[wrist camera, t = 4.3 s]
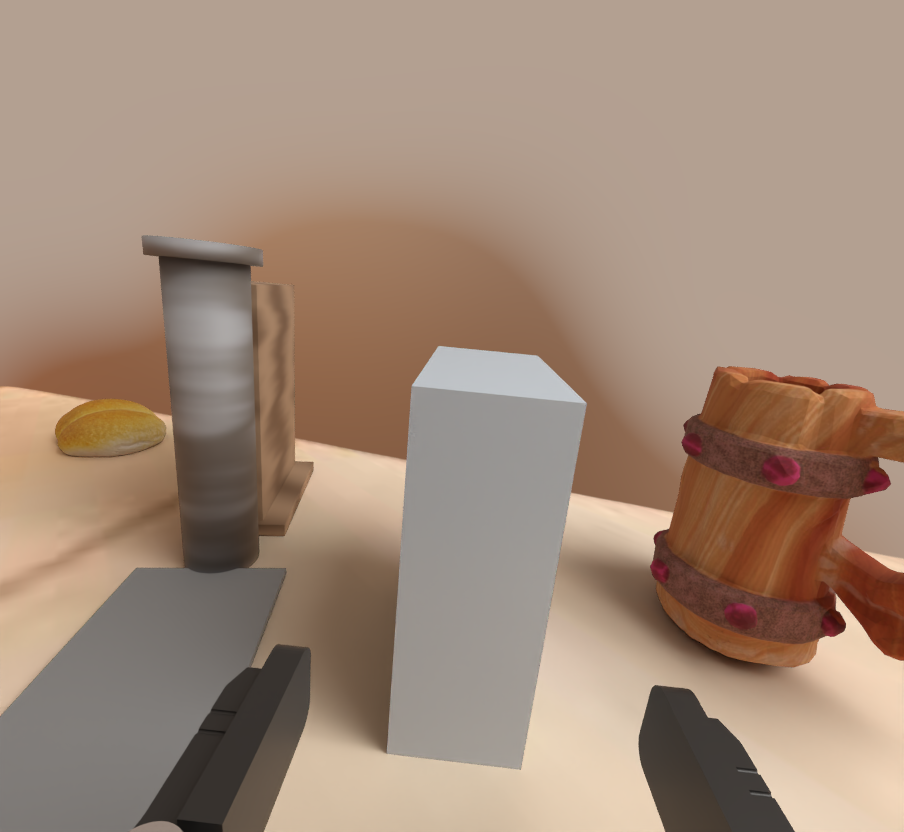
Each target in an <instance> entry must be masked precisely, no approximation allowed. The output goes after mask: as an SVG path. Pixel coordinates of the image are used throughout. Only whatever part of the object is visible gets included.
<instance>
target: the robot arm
mask: <svg viewBox="0 0 904 832" xmlns="http://www.w3.org/2000/svg"><path fill="white" fill-rule="evenodd" d="M310 660H311V653H310V649H309V648H306V647H298V646H289V645H280V644H278V645H276V646H275V647H274V648H273V650H272V652H271V653H270V655H269V657H268V659H267V660H266V662H265V664H264V666H263V667H262V669H259V668H250V667H247V668H246V669H245V670H243V671H242V672H241V673H240V674H239V675H238V676H236V677H235V678H234V679H233V680H232V681H231V682H229V683H228V684H227V685H226V686H225V688H224V689H223V691H222V692H221V694H220V696H219V697H218V699H217V700H216V702H215V704H214V705H213V707H212V708H211V712H210V714H208V715H207V716H206V718H205V719H204V721H203V722H202V724H201V726H200V727H199V730H198V733H197V734H195V735H194V737H193V738H192V740H191V741H190V743H189V745H188V746H187V748H186V749H185V751H184V752H183V754H182V756H181V757H180V759H179V760H178V762H177V764H176V765H175V767H174V768H173V770H172V771H171V773H170V775H169V776H168V778H167V779H166V781H165V782H164V784H163V786H162V787H161V789H160V790H159V792H158V794H157V795H156V797H155V798H154V800H153V801H152V803H151V805H150V806H149V808H148V809H147V811H146V812H145V814H144V815H143V817H142V818H141V820H140V821H139V822H138V823H137V824H136V826H135V827H134V828H133V829H132V830H130V831H128V832H264V830H265V827H266V824H267V822H268V819H269V817H270V814H271V812H272V809H273V806H274V804H275V801H276V799H277V796H278V794H279V791H280V788H281V786H282V783H283V781H284V778H285V776H286V773H287V770H288V768H289V765H290V763H291V760H292V758H293V755H294V752H295V750H296V747H297V745H298V742H299V740H300V737H301V734H302V732H303V729H304V726H305V723H306V719H307V715H308V710H309V703H310ZM639 755H640V761H641V765H642V768H643V771H644V774H645V777H646V779H647V782H648V785H649V788H650V790H651V793H652V796H653V799H654V801H655V804H656V807H657V810H658V812H659V815H660V818H661V821H662V823H663V826H664V829H665V832H795V831H794V830H793V828H792V826H791V825H790V823H789V821H788V820H787V818H786V816H785V815H784V813H783V811H782V810H781V808H780V807H779V805H778V803H777V802H776V800H775V798H772V797H771V792H770V790H769V788H768V787H767V785H766V783H765V782H764V780H763V779H762V777H761V775H758V773H757V769H756V767H755V765H754V764H753V762H752V760H751V759H750V757H749V755H748V754H747V752H746V751H745V749H744V747H743V746H742V744H741V742H740V741H739V740H738V739H737V738H736V737H735V736H734V735H733V734H732V733H731V732H730V731H729V730H728V729H727V728H726V727H725V726H724V725H723V724H722V723H721V722H720V721H719V720H718V719H714V718H708V717H707V715H706V714H705V712H704V710H703V708H702V706H701V705H700V703H699V701H698V699H697V698H696V696H695V694H694V693H693V692H692V691H691V690H689V689H684V688H675V687H666V686H657V685H655V686H654V687H653V688H652V689H651V692H650V696H649V700H648V704H647V707H646V711H645V715H644V719H643V722H642V726H641V730H640V734H639Z"/></svg>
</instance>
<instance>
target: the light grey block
mask: <svg viewBox="0 0 904 832" xmlns="http://www.w3.org/2000/svg"><path fill="white" fill-rule="evenodd" d="M586 405H587V403H585V401H584V400H583V399H582V398H580V396H579V395H577V394H576V393H575V392H574V391H573V390H572V389H571V388H570V387H569V386H568V385H567V384H566V383H565V382H564V381H563V380H562V379H561V378H560V377H559V376H558V375H557V374H556V373H555V372H554V371H553V370H552V369H551V368H550V367H549V366H548V365H547V364H546V363H545V362H543V361H542V359H540V358H539V357H538V356H534V355H524V354H514V353H503V352H493V351H483V350H473V349H463V348H452V347H442V346H439V347H438V348H437V349H436V351H435V353H434V354H433V356H432V357H431V358H430V360H429V361H428V363H427V364H426V366H425V367H424V369H423V370H422V372H421V373H420V375H419V376H418V377H417V379H416V380H415V382H414V383H413V385H412V390H411V405H410V419H409V434H408V448H407V463H406V478H405V492H404V507H403V522H402V536H401V551H400V566H399V580H398V595H397V610H396V625H395V639H394V654H393V669H392V683H391V698H390V713H389V727H388V742H387V754H394V755H402V756H410V757H419V758H427V759H436V760H444V761H452V762H461V763H469V764H478V765H486V766H494V767H503V768H511V769H520V770H521V766H522V761H523V755H524V750H525V744H526V739H527V733H528V727H529V722H530V716H531V711H532V705H533V700H534V694H535V688H536V683H537V677H538V672H539V666H540V661H541V655H542V650H543V644H544V638H545V633H546V627H547V622H548V616H549V611H550V605H551V599H552V594H553V588H554V583H555V577H556V572H557V566H558V561H559V555H560V549H561V544H562V538H563V533H564V527H565V522H566V516H567V510H568V505H569V499H570V494H571V488H572V483H573V476H574V471H575V466H576V460H577V454H578V449H579V444H580V438H581V433H582V427H583V421H584V416H585V410H586Z"/></svg>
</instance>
